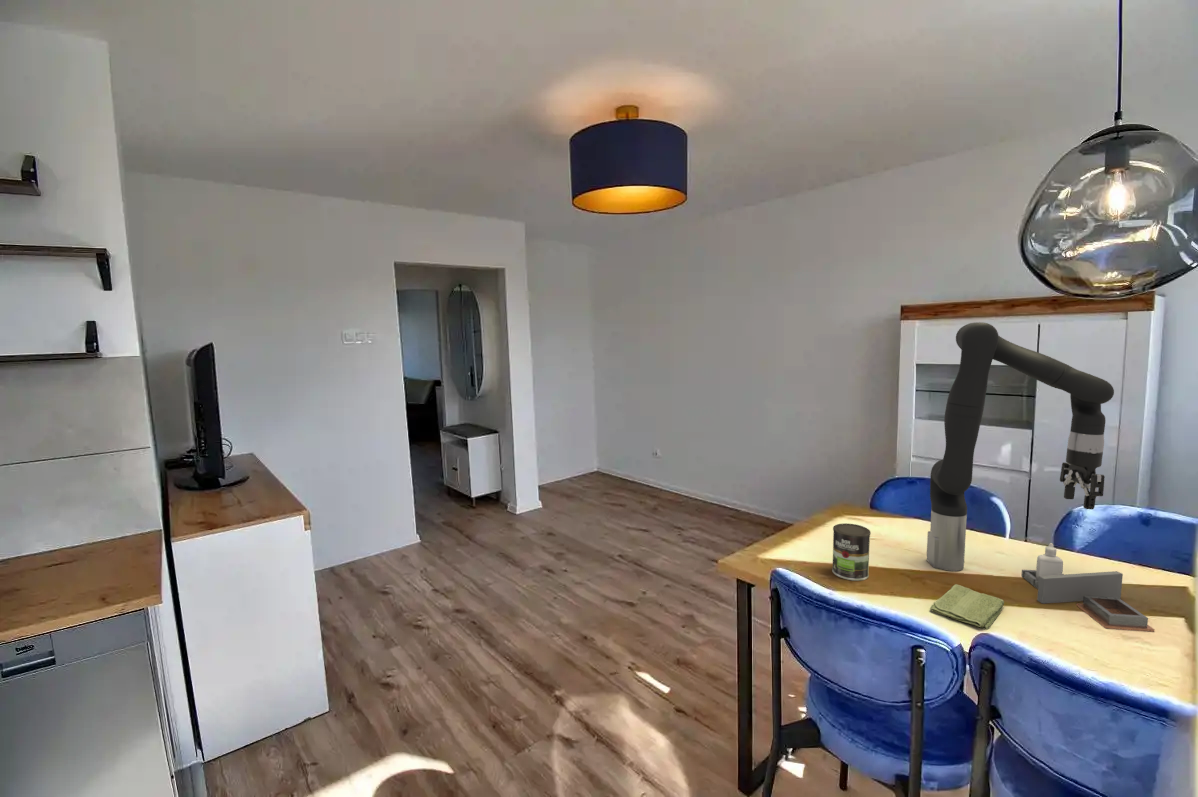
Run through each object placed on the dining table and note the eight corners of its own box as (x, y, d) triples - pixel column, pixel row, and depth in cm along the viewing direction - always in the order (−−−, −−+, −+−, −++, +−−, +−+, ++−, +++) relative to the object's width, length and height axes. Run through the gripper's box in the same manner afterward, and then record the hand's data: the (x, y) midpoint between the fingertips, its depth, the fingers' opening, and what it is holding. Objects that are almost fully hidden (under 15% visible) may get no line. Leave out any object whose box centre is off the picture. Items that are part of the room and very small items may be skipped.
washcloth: (927, 613, 142) (927, 601, 141) (952, 591, 152) (953, 580, 152) (986, 634, 131) (986, 622, 131) (1009, 609, 142) (1009, 597, 142)
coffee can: (862, 584, 158) (864, 538, 156) (827, 574, 165) (827, 530, 163) (873, 571, 165) (875, 528, 163) (839, 562, 172) (839, 520, 170)
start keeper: (1036, 588, 151) (1036, 581, 151) (1021, 575, 159) (1021, 569, 159) (1077, 591, 149) (1077, 584, 149) (1059, 578, 157) (1060, 571, 157)
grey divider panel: (1042, 603, 144) (1044, 578, 143) (1037, 600, 145) (1039, 576, 144) (1120, 598, 145) (1122, 573, 144) (1114, 595, 146) (1116, 571, 145)
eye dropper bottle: (1058, 589, 151) (1061, 548, 149) (1033, 582, 155) (1036, 542, 154) (1063, 584, 153) (1066, 544, 152) (1038, 577, 158) (1041, 538, 156)
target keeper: (1105, 628, 131) (1106, 616, 131) (1076, 605, 142) (1077, 594, 142) (1154, 631, 129) (1155, 619, 129) (1121, 608, 140) (1122, 597, 139)
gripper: (1053, 442, 158) (1048, 495, 161) (1086, 453, 145) (1079, 511, 147) (1083, 443, 157) (1077, 496, 159) (1119, 455, 143) (1111, 513, 145)
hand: (1078, 503), depth 153 cm, fingers open, 8 cm apart
